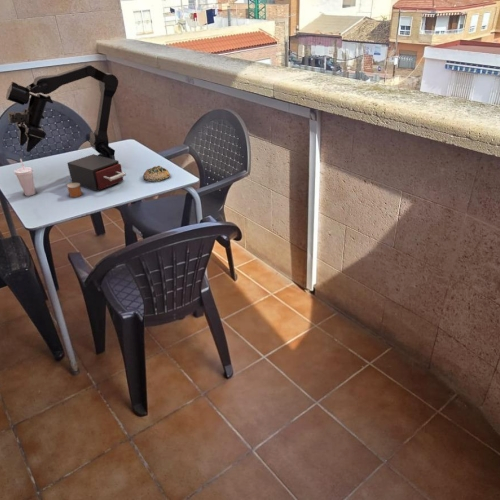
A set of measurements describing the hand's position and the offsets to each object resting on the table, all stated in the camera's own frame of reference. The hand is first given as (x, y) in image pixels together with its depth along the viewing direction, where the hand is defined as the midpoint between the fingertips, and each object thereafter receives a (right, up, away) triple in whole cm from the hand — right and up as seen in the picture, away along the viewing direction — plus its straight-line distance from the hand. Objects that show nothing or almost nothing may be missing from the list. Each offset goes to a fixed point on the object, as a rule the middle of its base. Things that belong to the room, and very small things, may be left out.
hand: (24, 148), depth 168 cm
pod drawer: (+30, -12, +5) cm, 32 cm away
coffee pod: (+22, -19, -3) cm, 29 cm away
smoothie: (+3, -18, -2) cm, 18 cm away
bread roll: (+49, -10, +11) cm, 52 cm away
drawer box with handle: (+26, -12, +8) cm, 29 cm away
